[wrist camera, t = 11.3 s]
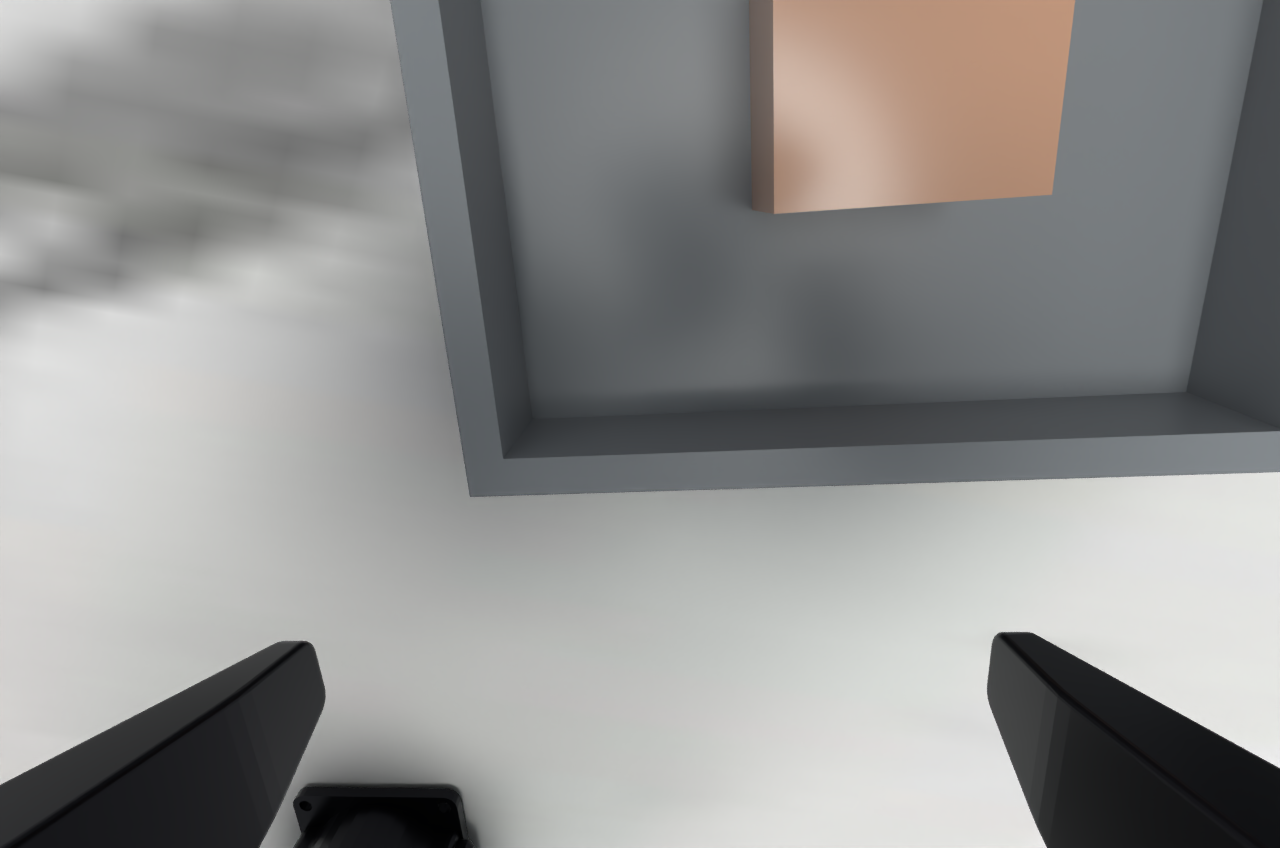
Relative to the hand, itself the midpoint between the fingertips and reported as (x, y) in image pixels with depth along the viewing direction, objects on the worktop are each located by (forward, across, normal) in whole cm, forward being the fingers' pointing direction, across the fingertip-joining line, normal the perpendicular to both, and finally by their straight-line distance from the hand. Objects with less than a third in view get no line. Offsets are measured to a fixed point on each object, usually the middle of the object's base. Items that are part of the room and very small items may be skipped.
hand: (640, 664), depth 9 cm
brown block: (+11, -5, -8) cm, 14 cm away
